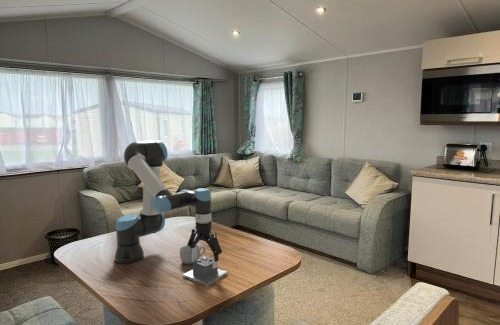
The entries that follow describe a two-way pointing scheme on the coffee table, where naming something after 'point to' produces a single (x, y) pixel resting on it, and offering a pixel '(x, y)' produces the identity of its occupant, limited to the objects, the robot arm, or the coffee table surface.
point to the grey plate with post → (202, 280)
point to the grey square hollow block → (204, 269)
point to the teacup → (189, 254)
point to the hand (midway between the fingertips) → (204, 264)
